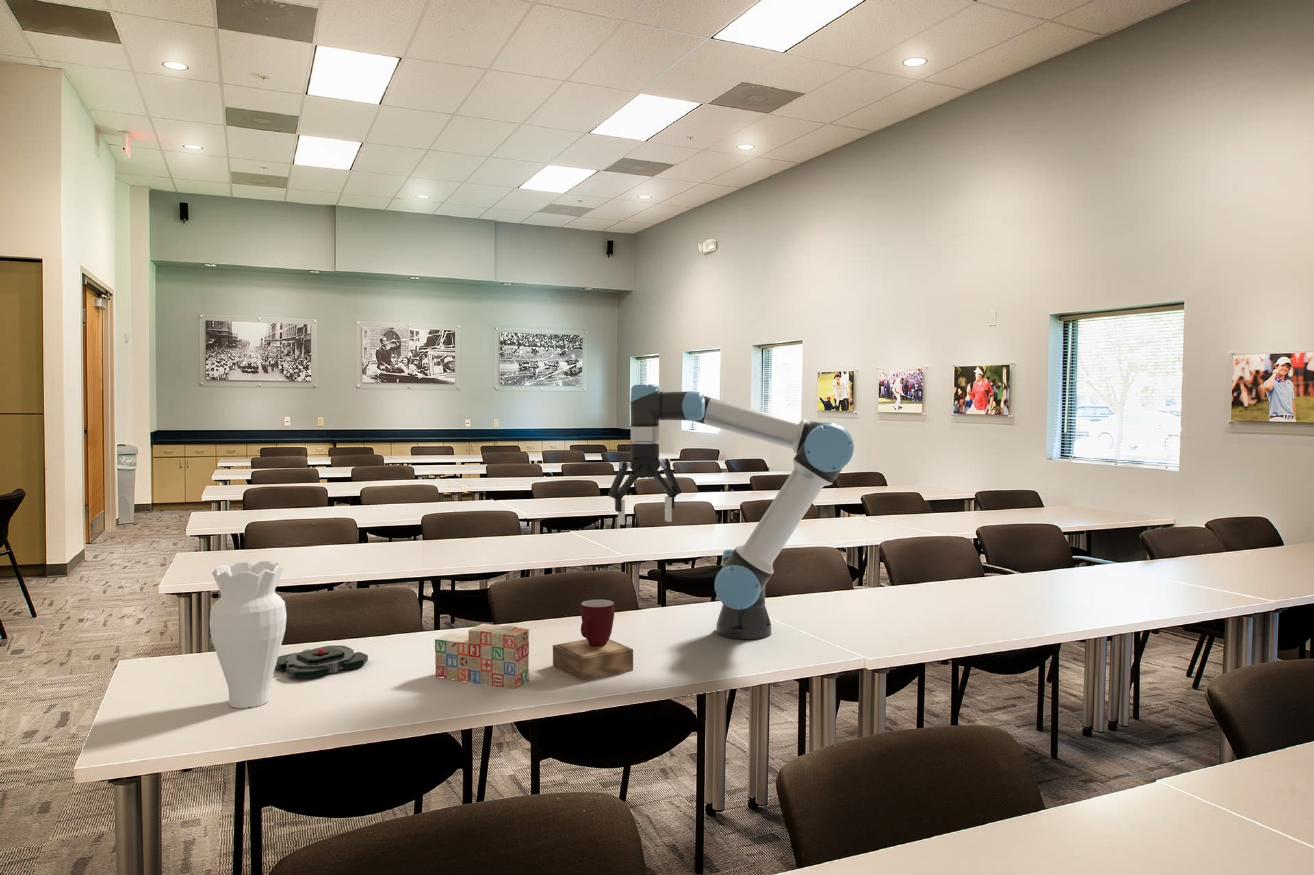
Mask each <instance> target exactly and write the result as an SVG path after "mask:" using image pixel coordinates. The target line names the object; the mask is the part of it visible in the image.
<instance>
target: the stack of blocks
mask: <svg viewBox="0 0 1314 875" xmlns="http://www.w3.org/2000/svg"><path fill="white" fill-rule="evenodd" d="M529 638H530V630H529V628H523V627H518V626H514V625H513V626H512V625H502V624H491V623H490V624H489V623H481V624H479V625H476V626H475V627H473V628H472V627H471V628H470V629H468V634H465V633H456V632H448V633H445V634H443V635H441V636H439V637H437V638H435V639H434V652H435V662H434V665H435V678H436V677H444V678H447V679H454V680H459V681H458V682H461V681H467V682H473V683H472V684H476V683H477V685H483V684H486V685H485V686H491V687H496V688H497V687H498V688H504V689H505V688H506V689H512V690H515V689H518V688H519V687H521V686H523V685H524V684H526V683H527V682H529V677H530V676H529V675H530V674H529V673H530V672H529V671H530V670H529V660H530V659H529V658H530V657H529V655H530V646H529V645H530V641H529ZM447 679H446V680H447ZM454 680H453V681H454ZM467 682H466V683H467Z"/></svg>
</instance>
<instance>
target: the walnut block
mask: <svg viewBox="0 0 1314 875" xmlns="http://www.w3.org/2000/svg"><path fill="white" fill-rule="evenodd" d="M552 666H553V667H555V668H556V669H558V670H560V671H562V672H564V673H565V674H568V675H569V676H571V677H573V678H575V679H577V680H579V681H581V682H585V681H589V680H593V679H598V678H602V677H608V676H612V675H617V674H621V673H626V672H631V671H633V670H634V649H633V648H631V647H629V646H626V645H624V644H622V643H620V642H617V641H615V640H613V639H610V638H609V640H608V642H607V644H606V645H604V646H599V647H596V646H591V645H590V644H589V642H588V641H587V639H586V638H583V639H580V640H574V641H568V642H563V643H558V644H552Z"/></svg>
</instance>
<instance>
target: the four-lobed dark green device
mask: <svg viewBox="0 0 1314 875" xmlns="http://www.w3.org/2000/svg"><path fill="white" fill-rule="evenodd" d="M368 662H369V656H368V654H366V653H364V652H361V651H357V652H356V651H355V652H354V649H353V648H352V647H348V646H347V645H326V646H321V647H316V648H312V649H310V648H308V649H303V650H302V651H299V652H293V653H288V654H283V655H278V659H277V662H276V666H275V669H277V670H278V671H280V670H281V671H282V670H285V673H286V675H289V676H291V677H292V678H314V677H319V676H323V675H327V674H329V673H332V674H333V673H334V674H335V673H338V672H340V671H341V670H349V669H354V668H357V667H362V666H364V665H365V664H366V663H368Z"/></svg>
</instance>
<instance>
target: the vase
mask: <svg viewBox="0 0 1314 875" xmlns="http://www.w3.org/2000/svg"><path fill="white" fill-rule="evenodd" d="M283 570H284V568H283V567H282V566H281V565H280V564H279V563H278V562H275V564H274V563H273V562H271V561H269V560H261V561H259V562H258V563H255V564H254V563H252V562H249V561H239V562H237V563H235V564H233V565H231V566H228V565H226V564H223V565H222V564H221V565H219V566H218V567H217V568H215V569H214V570H213V571H212V572H211V573H212V576H213V578H214V580H215V582H216V584H217V586H218V589H219V594H220V598H218V599H217V600H216V601H215V603H214V604H213V605H212V607H211V609H210V612H209V613H210V615H209V616H210V617H209V624H208V625H209V632H210V637H211V642H212V645H213V647H214V651H215V653H216V656H217V659H218V661H219V664H220V667H221V670H222V672H223V677H224V678H225V679H224V680H225V682H226V684H227V688H228V689H227V690H228V703H229V704H228V705H229V706H230V707H231V708H233V707H236V708H235V709H249V708H248V707H252V708H256V706H257V707H260V706H259V705H261V706H263V704H264V705H266V704H268V703H269V702H270V701H271V700H272V681H273V676H274V672H275V669H276V668H275V666H276V662H277V659H278V657H279V656H280V655H279V654H280V651H281V646H282V644H283V640H284V637H285V632H286V628H287V627H286V626H287V625H286V624H287V616H288V615H287V609H286V601H285V600H283V598H282V597H281V596H280V595H279V594H277V593H276V588H277V585H278V583H279V581H280V578H281V576H282V573H283ZM267 702H268V703H267ZM265 703H266V704H265Z"/></svg>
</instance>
